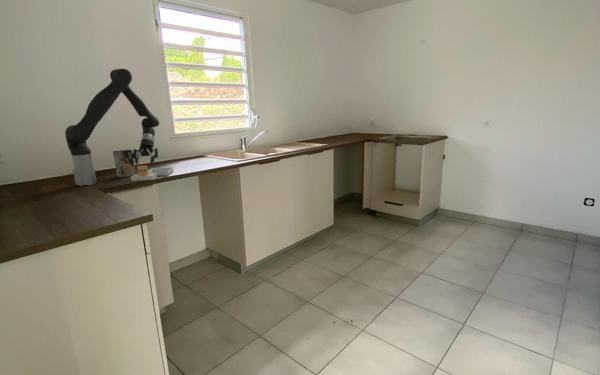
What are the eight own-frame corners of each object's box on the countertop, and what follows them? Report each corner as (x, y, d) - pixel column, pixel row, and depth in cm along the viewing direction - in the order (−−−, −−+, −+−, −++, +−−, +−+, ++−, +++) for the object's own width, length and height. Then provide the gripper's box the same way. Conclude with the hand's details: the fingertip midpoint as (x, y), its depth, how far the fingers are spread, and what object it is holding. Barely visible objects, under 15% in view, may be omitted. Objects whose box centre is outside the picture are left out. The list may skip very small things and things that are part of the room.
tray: (146, 177, 199) (145, 172, 198) (152, 172, 211) (152, 168, 211) (168, 175, 200) (167, 171, 200) (173, 171, 213) (173, 167, 212)
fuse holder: (131, 180, 190) (130, 176, 189) (135, 178, 196) (135, 174, 196) (152, 179, 191) (152, 175, 190) (156, 177, 198) (155, 173, 197)
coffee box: (131, 173, 211) (127, 149, 207) (136, 174, 207) (132, 149, 203) (116, 176, 204) (112, 151, 200) (121, 177, 200) (117, 151, 196)
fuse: (139, 179, 193) (137, 166, 191) (140, 179, 194) (138, 165, 192) (148, 179, 193) (146, 166, 191) (149, 178, 195) (147, 165, 193)
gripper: (133, 139, 199) (129, 160, 191) (157, 138, 201) (154, 159, 193) (137, 146, 206) (134, 167, 198) (160, 145, 208) (158, 166, 199)
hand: (144, 163), depth 195 cm, fingers open, 8 cm apart
